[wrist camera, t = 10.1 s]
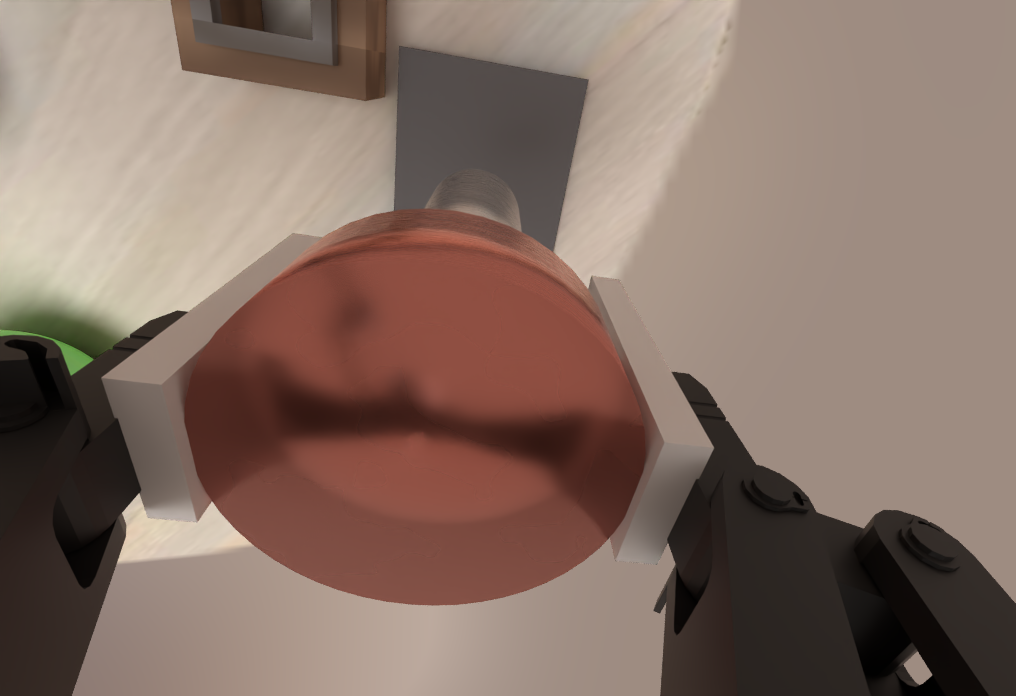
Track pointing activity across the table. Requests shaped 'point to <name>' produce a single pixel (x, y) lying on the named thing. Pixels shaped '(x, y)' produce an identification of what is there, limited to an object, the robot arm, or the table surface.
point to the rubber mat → (486, 132)
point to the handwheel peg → (420, 408)
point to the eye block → (287, 46)
